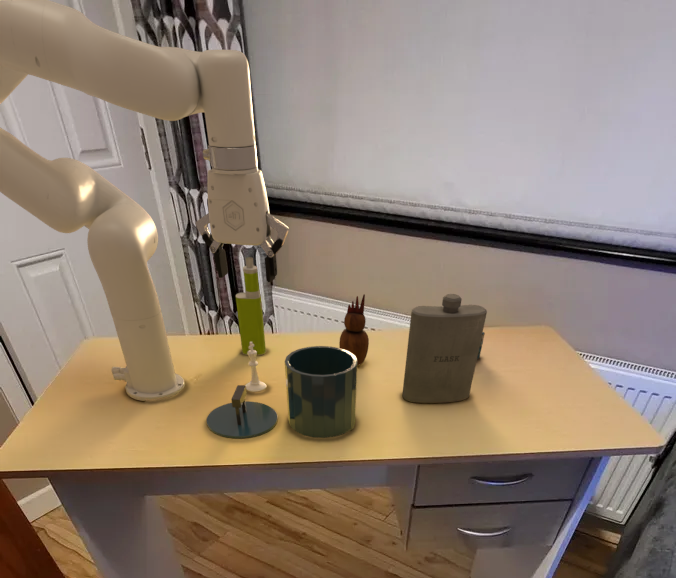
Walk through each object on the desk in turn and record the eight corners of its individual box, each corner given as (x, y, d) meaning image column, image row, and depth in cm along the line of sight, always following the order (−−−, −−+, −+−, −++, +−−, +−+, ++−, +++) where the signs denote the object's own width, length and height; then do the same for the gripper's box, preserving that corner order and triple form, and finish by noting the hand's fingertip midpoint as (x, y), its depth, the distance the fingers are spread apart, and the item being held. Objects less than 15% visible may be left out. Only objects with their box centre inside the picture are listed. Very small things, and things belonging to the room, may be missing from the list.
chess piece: (240, 391, 112) (234, 344, 105) (251, 382, 115) (246, 336, 108) (260, 396, 111) (255, 348, 103) (270, 386, 114) (266, 339, 107)
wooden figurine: (371, 362, 123) (375, 293, 112) (359, 370, 120) (362, 300, 109) (347, 355, 126) (349, 287, 115) (335, 363, 123) (336, 294, 111)
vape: (265, 355, 125) (257, 260, 111) (241, 354, 125) (229, 260, 111) (267, 349, 128) (259, 256, 113) (243, 348, 128) (232, 255, 113)
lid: (199, 439, 98) (192, 408, 94) (216, 404, 108) (211, 374, 103) (272, 443, 98) (269, 411, 93) (282, 407, 107) (280, 377, 103)
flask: (405, 404, 109) (417, 302, 94) (400, 392, 113) (410, 291, 98) (472, 402, 110) (495, 300, 95) (465, 389, 114) (485, 290, 99)
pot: (284, 438, 99) (280, 374, 90) (293, 405, 108) (290, 344, 99) (353, 441, 99) (355, 377, 89) (356, 408, 108) (358, 347, 98)
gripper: (175, 160, 83) (196, 280, 95) (276, 165, 80) (284, 288, 93) (195, 154, 88) (213, 268, 100) (290, 158, 85) (296, 275, 97)
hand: (247, 278), depth 96 cm, fingers open, 9 cm apart
